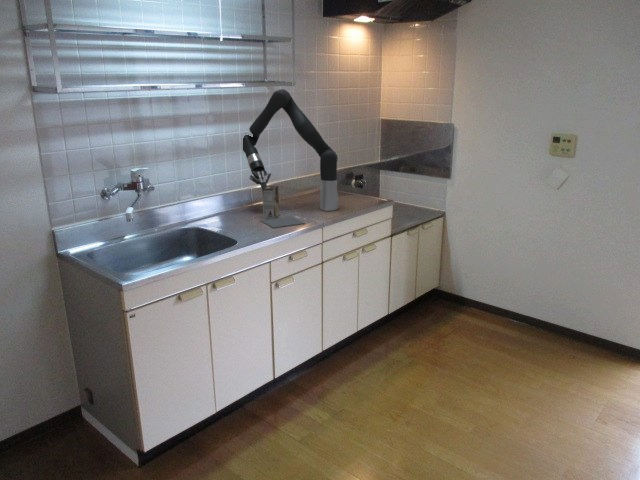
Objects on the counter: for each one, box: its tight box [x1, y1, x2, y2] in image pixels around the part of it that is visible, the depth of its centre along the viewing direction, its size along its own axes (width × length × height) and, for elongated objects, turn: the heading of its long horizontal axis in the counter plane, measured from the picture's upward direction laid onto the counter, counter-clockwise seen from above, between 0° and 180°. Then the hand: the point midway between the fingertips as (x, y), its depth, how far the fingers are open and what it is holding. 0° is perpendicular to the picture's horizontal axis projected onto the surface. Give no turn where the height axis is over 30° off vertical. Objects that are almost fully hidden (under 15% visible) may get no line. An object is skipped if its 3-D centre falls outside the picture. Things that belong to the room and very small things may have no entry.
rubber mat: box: [259, 215, 306, 229], centre depth 272 cm, size 18×16×1 cm
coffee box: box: [261, 185, 280, 219], centre depth 282 cm, size 9×6×16 cm
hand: (265, 189), depth 286 cm, fingers closed
